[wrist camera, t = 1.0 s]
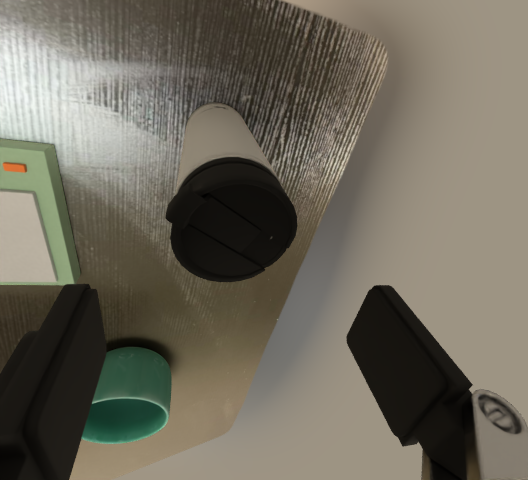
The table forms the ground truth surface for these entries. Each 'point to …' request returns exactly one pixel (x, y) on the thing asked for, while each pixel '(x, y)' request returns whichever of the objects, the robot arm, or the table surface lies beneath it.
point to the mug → (129, 397)
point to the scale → (34, 218)
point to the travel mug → (227, 200)
